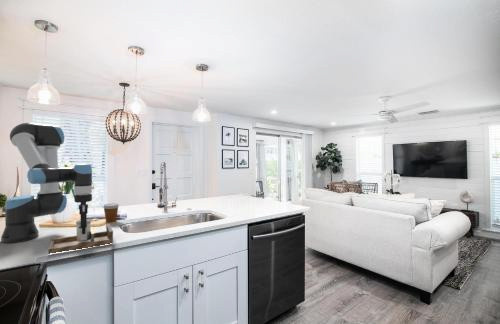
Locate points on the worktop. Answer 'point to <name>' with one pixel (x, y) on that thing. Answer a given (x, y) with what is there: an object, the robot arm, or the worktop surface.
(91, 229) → the pusher
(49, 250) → the brown wooden tray
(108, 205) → the disposable coffee cup
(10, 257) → the worktop surface
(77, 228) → the jar
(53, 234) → the worktop surface
